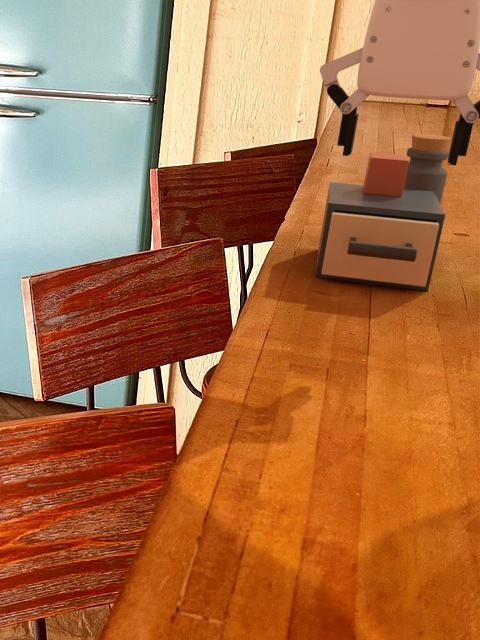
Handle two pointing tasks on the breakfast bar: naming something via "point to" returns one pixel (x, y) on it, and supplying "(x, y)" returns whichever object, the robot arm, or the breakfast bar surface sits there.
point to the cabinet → (360, 202)
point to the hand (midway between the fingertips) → (398, 158)
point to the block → (386, 174)
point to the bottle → (427, 164)
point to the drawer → (380, 248)
